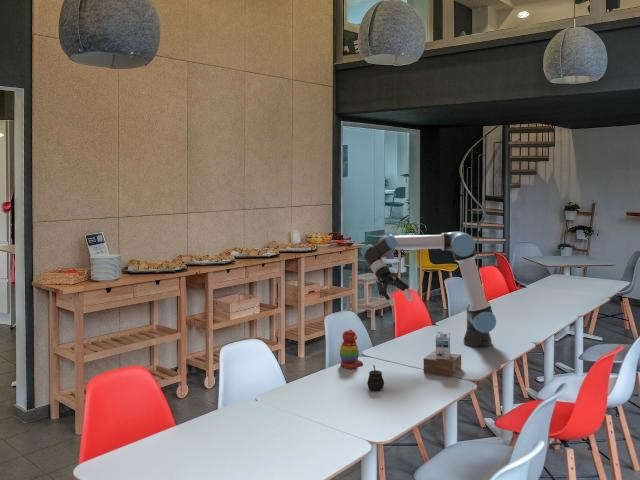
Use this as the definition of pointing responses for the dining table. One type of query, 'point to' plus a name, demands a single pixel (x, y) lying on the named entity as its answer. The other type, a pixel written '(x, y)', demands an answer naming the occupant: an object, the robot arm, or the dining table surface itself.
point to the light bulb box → (443, 345)
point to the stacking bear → (349, 351)
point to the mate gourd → (375, 380)
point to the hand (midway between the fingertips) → (402, 302)
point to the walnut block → (442, 365)
